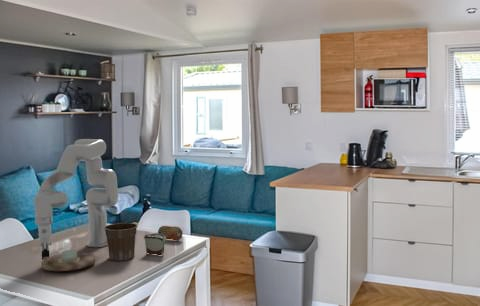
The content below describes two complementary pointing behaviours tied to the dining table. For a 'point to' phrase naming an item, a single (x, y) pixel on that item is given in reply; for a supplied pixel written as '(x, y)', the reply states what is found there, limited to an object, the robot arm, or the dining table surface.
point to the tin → (171, 232)
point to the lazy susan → (56, 264)
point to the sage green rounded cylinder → (68, 256)
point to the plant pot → (121, 240)
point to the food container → (155, 243)
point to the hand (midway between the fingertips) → (45, 258)
